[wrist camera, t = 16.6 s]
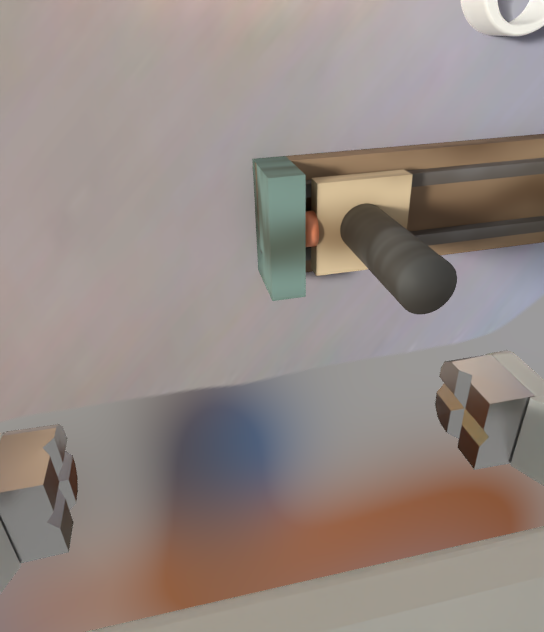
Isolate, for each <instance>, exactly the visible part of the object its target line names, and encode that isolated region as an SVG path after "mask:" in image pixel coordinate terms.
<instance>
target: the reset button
mask: <svg viewBox="0 0 544 632" xmlns="http://www.w3.org/2000/svg"><path fill="white" fill-rule="evenodd" d="M318 242H319V225H318V220H317V216H316V214H315V212H314V211H313V210H312V211H306V247H314V246H317V245H318Z"/></svg>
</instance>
